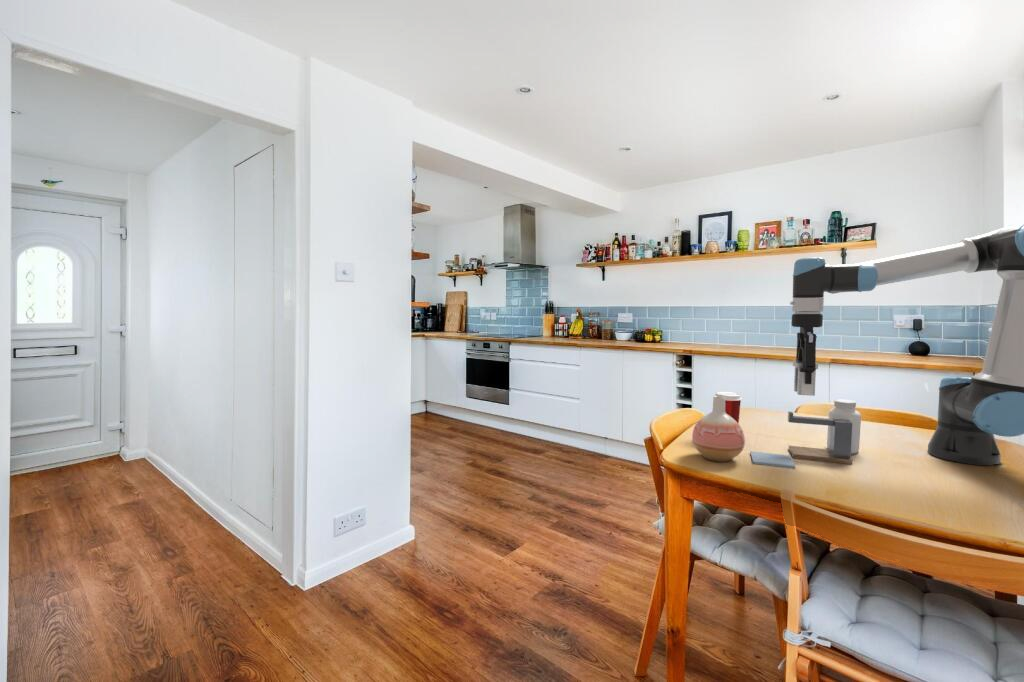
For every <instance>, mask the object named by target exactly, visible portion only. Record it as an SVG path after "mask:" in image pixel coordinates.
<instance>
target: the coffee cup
mask: <svg viewBox="0 0 1024 682" xmlns="http://www.w3.org/2000/svg"><path fill="white" fill-rule="evenodd" d="M714 396H721V397H725V412H726V414H728V415H729V416H731V417H732V418H733V419H734V420H735V421H736V422H737V423H738V424H739V425H740V423H739V422H740V413H741V412H740V409H741V403H742V400H743V398H742V397H741V394H739V393H737V392H732V391H731V392H730V391H718V392H715V394H714Z"/></svg>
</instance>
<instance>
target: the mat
mask: <svg viewBox="0 0 1024 682" xmlns="http://www.w3.org/2000/svg"><path fill="white" fill-rule="evenodd" d="M749 453H750V457H751V461H752V463H753V464H755V465H764V466H773V467H779V468H780V467H781V468H791V469H796V465H795V463H794V461H793V460H792V457H791V456H790V455H789V454H781V453H772V452H762V451H752V450H751V451H750V452H749Z"/></svg>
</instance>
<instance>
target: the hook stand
mask: <svg viewBox="0 0 1024 682" xmlns="http://www.w3.org/2000/svg"><path fill="white" fill-rule="evenodd" d="M787 422H788V423H793V424H794V423H795V424H807V425H817V426H827V427H828V426H830V446H829V449H828V448H819V447H818V448H817V447H816V448H815V447H809V446H808V447H806V446H796V445H788V452H789V453H790V455H791V456H792V457H791V458H793V459H798V460H799V459H800V460H806V461H815V462H816V461H817V462H825V463H826V462H827V463H835V464H837V463H838V464H845V465H853V459H852V458H851V455H852V454H851V440H852V422H850V421H849V420H848V419H839V418H831V419H828V417H827V418H826V417H825V418H824V417H812V416H811V417H810V416H798V415H794V413H793V411H787Z"/></svg>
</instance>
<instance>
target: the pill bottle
mask: <svg viewBox="0 0 1024 682" xmlns="http://www.w3.org/2000/svg"><path fill="white" fill-rule="evenodd" d="M833 403H834V404H833V405H834V407H833V408H831V409H830V410H829V411H828V417H827V419H831V418H839V419H848V420H849V421H850V422H852V440H851V455H852V454H853V455H854V454H858V453H859V449H860V440H861V427H862V426H861V423H862V415H861V412H859V411H858V410H856V409H857V401H855V400H851V399H844V398H843V399H841V398H839V399H835V400H834V401H833ZM829 446H830V426H828V425H827V439H826V447H827V449H829Z"/></svg>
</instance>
